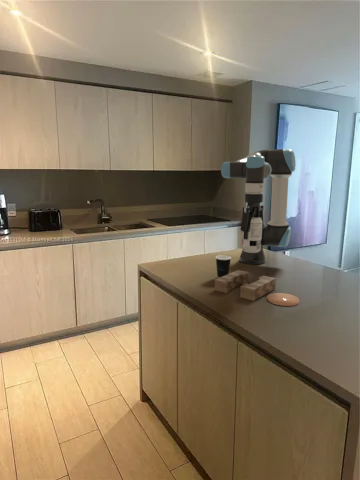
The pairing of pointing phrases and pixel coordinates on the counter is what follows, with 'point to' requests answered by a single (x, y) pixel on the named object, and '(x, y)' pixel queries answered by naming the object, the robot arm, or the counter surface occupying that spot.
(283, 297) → the peach smooth rounded piece
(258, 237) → the supplement can
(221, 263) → the dixie cup
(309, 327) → the counter surface
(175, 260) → the counter surface
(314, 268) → the counter surface
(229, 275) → the walnut caddy
